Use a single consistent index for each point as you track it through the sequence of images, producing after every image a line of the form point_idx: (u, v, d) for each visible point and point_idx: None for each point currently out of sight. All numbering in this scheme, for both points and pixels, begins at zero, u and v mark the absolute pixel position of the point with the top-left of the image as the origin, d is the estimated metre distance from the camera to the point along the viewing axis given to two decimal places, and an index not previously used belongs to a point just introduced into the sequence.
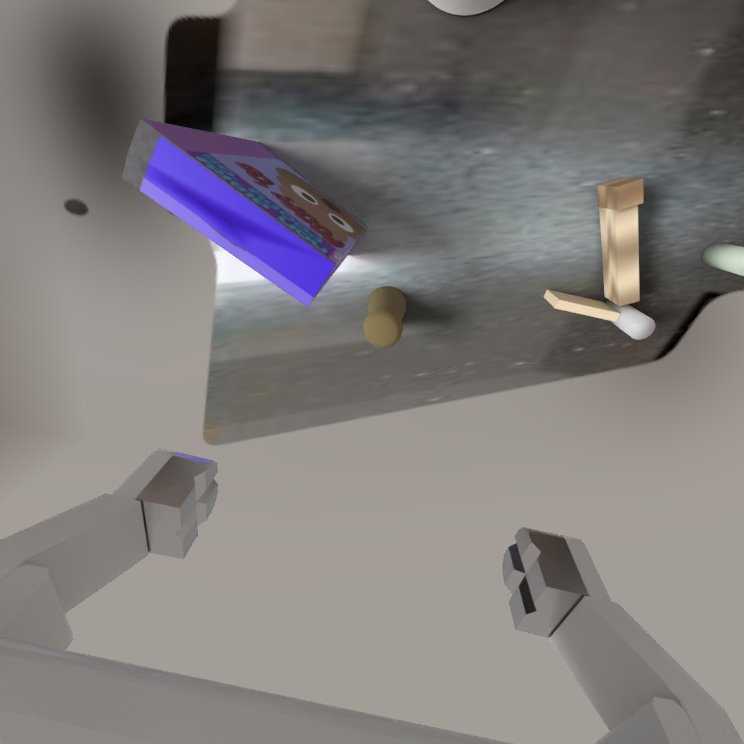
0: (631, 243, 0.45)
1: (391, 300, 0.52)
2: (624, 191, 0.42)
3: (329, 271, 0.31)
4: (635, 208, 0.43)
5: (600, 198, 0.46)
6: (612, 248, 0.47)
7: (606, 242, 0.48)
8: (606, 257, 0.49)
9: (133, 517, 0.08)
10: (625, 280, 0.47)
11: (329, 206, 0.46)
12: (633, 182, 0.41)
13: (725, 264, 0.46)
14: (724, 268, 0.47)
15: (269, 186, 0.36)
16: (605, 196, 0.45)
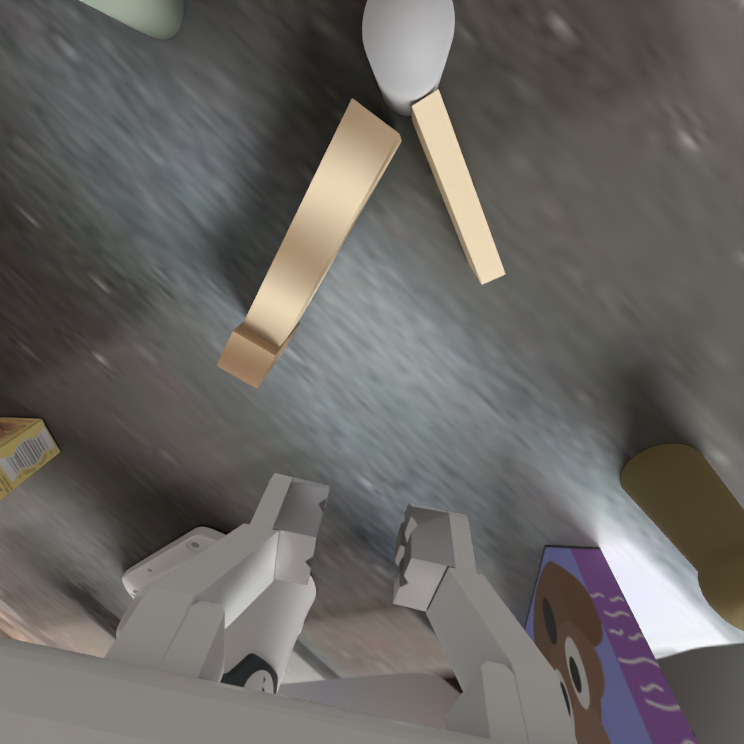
0: (288, 265, 0.19)
1: (660, 525, 0.26)
2: (251, 373, 0.21)
3: None
4: (250, 320, 0.21)
5: (290, 338, 0.25)
6: (322, 272, 0.20)
7: (324, 273, 0.22)
8: (342, 242, 0.21)
9: (271, 547, 0.08)
10: (343, 193, 0.17)
11: (553, 635, 0.32)
12: (232, 372, 0.21)
13: None
14: None
15: None
16: (282, 350, 0.24)
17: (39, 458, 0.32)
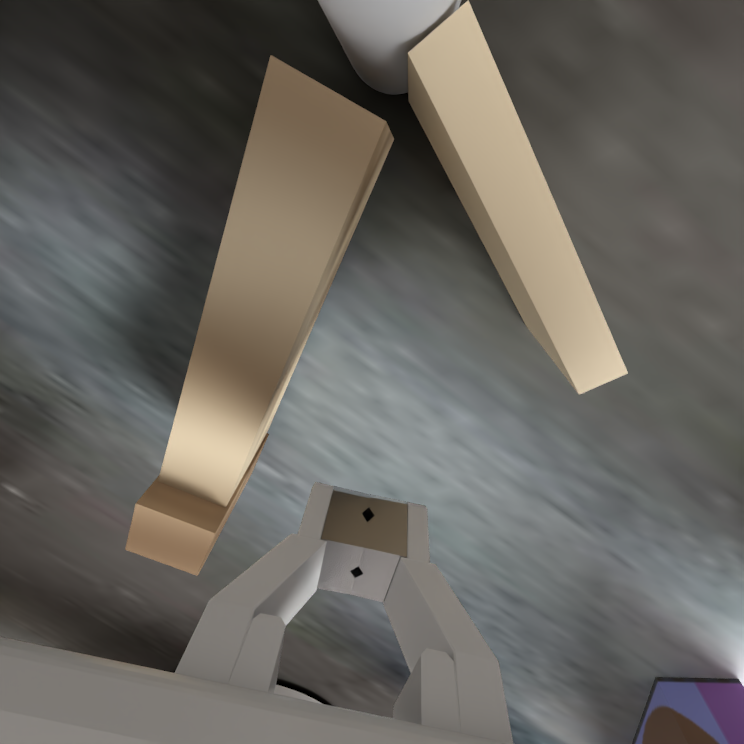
0: (211, 389, 0.11)
1: None
2: (182, 557, 0.13)
3: None
4: (169, 473, 0.12)
5: (256, 460, 0.16)
6: (279, 386, 0.12)
7: (289, 373, 0.13)
8: (312, 322, 0.13)
9: (319, 557, 0.08)
10: (287, 256, 0.09)
11: None
12: (153, 556, 0.13)
13: None
14: None
15: None
16: (242, 487, 0.15)
17: None
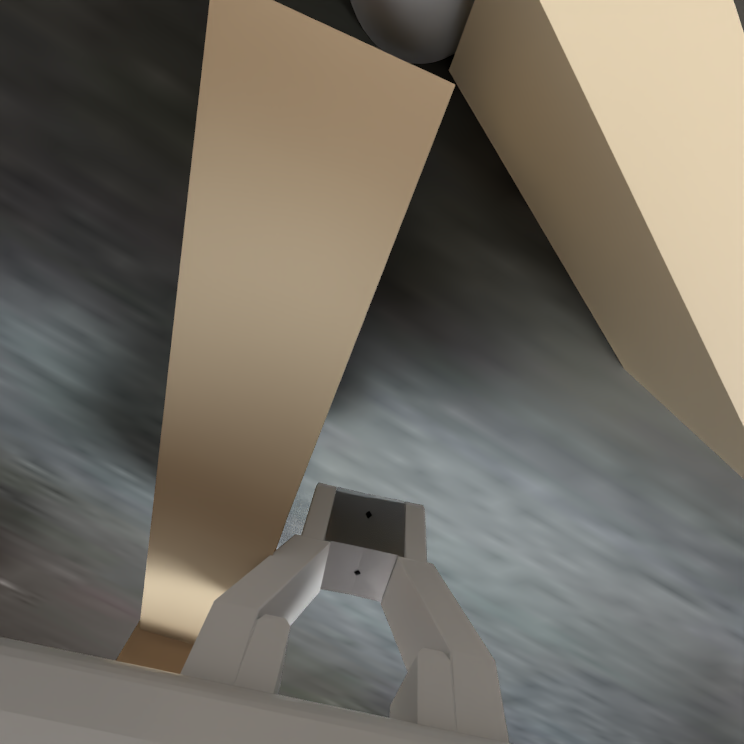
0: (192, 526, 0.07)
1: None
2: None
3: None
4: (153, 621, 0.09)
5: None
6: None
7: None
8: None
9: (323, 558, 0.08)
10: (285, 343, 0.05)
11: None
12: None
13: None
14: None
15: None
16: None
17: None
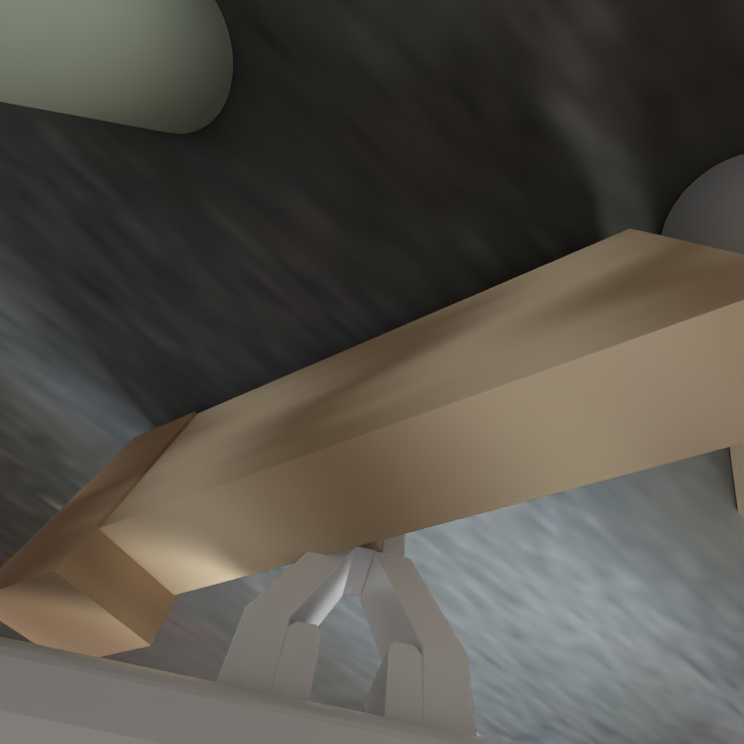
0: (302, 494, 0.07)
1: None
2: (65, 643, 0.08)
3: None
4: (128, 530, 0.08)
5: None
6: None
7: None
8: None
9: (347, 563, 0.08)
10: (563, 449, 0.06)
11: None
12: (12, 622, 0.08)
13: (87, 23, 0.04)
14: None
15: None
16: None
17: None
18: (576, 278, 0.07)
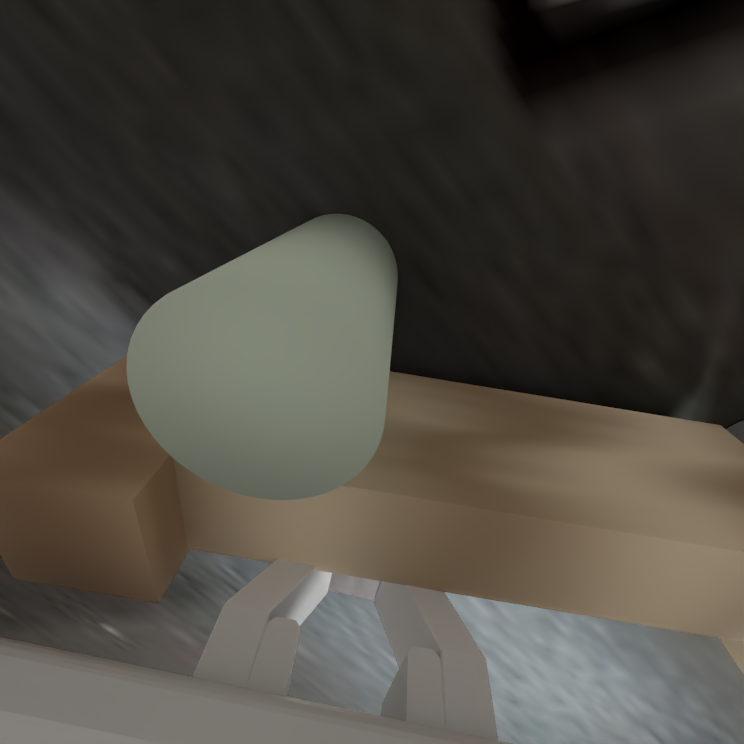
0: (431, 532, 0.07)
1: None
2: (42, 561, 0.06)
3: None
4: None
5: None
6: None
7: None
8: None
9: None
10: (661, 598, 0.07)
11: None
12: None
13: None
14: None
15: None
16: None
17: None
18: (693, 450, 0.09)
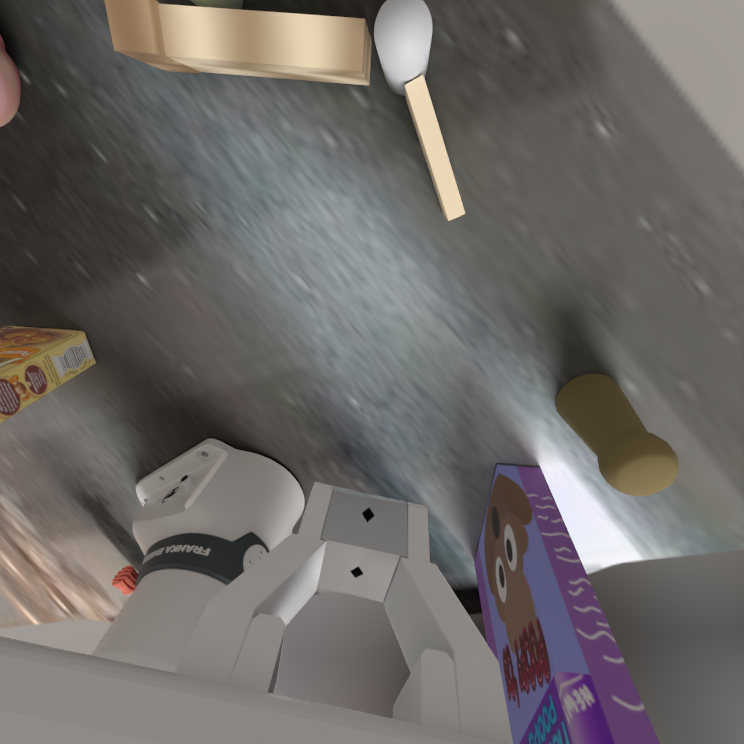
0: (234, 26, 0.22)
1: (579, 430, 0.34)
2: (123, 36, 0.22)
3: None
4: (168, 11, 0.22)
5: (180, 70, 0.26)
6: (248, 66, 0.24)
7: (250, 71, 0.25)
8: (281, 74, 0.25)
9: (319, 557, 0.08)
10: (308, 48, 0.22)
11: (497, 531, 0.40)
12: (109, 14, 0.22)
13: None
14: None
15: (514, 672, 0.32)
16: (164, 65, 0.25)
17: (81, 364, 0.39)
18: None
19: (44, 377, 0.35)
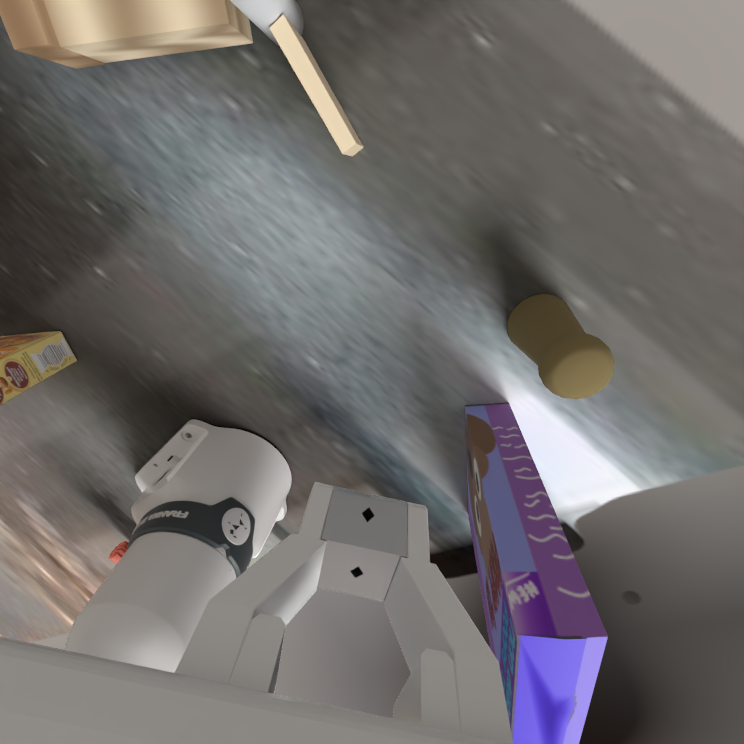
0: (110, 6, 0.24)
1: (525, 350, 0.33)
2: (18, 34, 0.25)
3: (534, 637, 0.21)
4: (53, 5, 0.25)
5: (86, 64, 0.29)
6: (134, 42, 0.26)
7: (143, 50, 0.28)
8: (170, 48, 0.28)
9: (319, 557, 0.08)
10: (177, 12, 0.24)
11: (472, 470, 0.40)
12: (3, 17, 0.24)
13: None
14: None
15: (491, 598, 0.32)
16: (68, 59, 0.28)
17: (61, 361, 0.42)
18: None
19: (25, 372, 0.38)
